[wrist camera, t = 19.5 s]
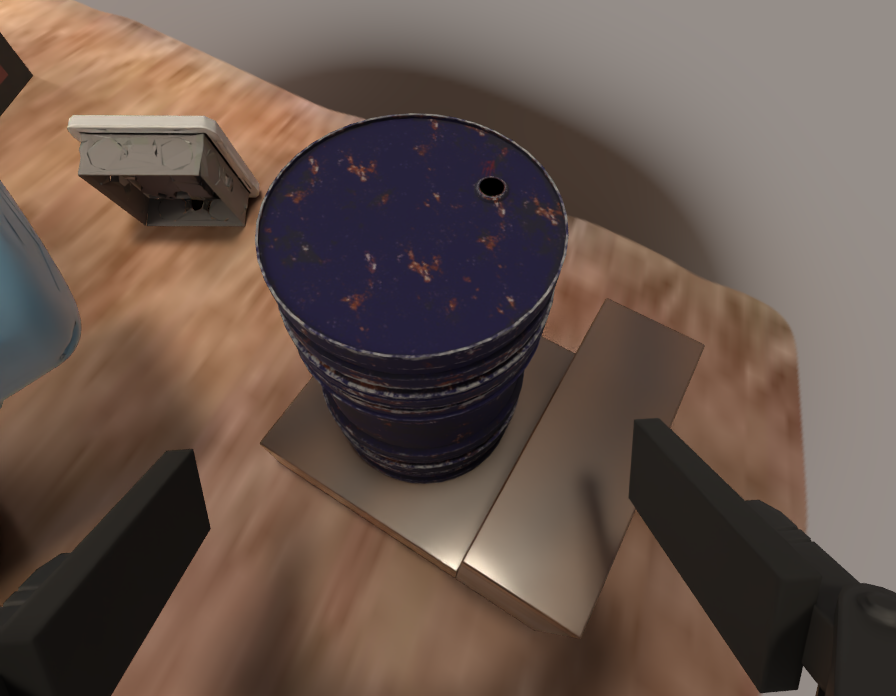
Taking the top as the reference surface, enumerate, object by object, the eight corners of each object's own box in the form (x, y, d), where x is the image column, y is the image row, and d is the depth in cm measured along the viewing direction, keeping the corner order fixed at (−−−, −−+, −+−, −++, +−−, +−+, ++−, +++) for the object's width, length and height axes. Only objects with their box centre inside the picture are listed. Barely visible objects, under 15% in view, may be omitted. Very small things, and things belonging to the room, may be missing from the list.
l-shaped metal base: (279, 462, 32) (213, 401, 22) (405, 297, 37) (393, 195, 28) (535, 631, 28) (581, 639, 18) (633, 418, 33) (706, 344, 24)
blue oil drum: (383, 521, 26) (324, 426, 13) (311, 367, 30) (207, 171, 17) (547, 431, 28) (639, 271, 15) (459, 298, 32) (472, 79, 19)
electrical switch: (264, 189, 42) (217, 95, 33) (255, 244, 40) (203, 159, 31) (147, 189, 42) (70, 94, 33) (133, 244, 40) (47, 159, 31)
